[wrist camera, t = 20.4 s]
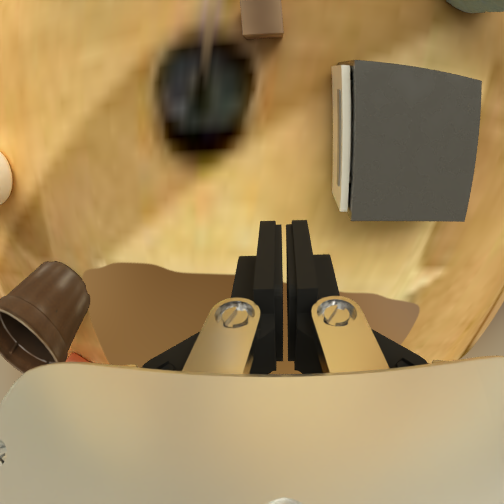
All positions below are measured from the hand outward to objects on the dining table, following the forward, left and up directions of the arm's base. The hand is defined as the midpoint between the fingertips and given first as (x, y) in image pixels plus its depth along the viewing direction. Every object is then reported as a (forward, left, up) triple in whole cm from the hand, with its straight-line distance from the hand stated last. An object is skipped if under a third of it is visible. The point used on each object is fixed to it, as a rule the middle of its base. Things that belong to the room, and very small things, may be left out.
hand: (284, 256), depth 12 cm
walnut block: (-1, +13, -27) cm, 30 cm away
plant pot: (-39, -23, -27) cm, 53 cm away
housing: (+14, 0, -27) cm, 31 cm away
